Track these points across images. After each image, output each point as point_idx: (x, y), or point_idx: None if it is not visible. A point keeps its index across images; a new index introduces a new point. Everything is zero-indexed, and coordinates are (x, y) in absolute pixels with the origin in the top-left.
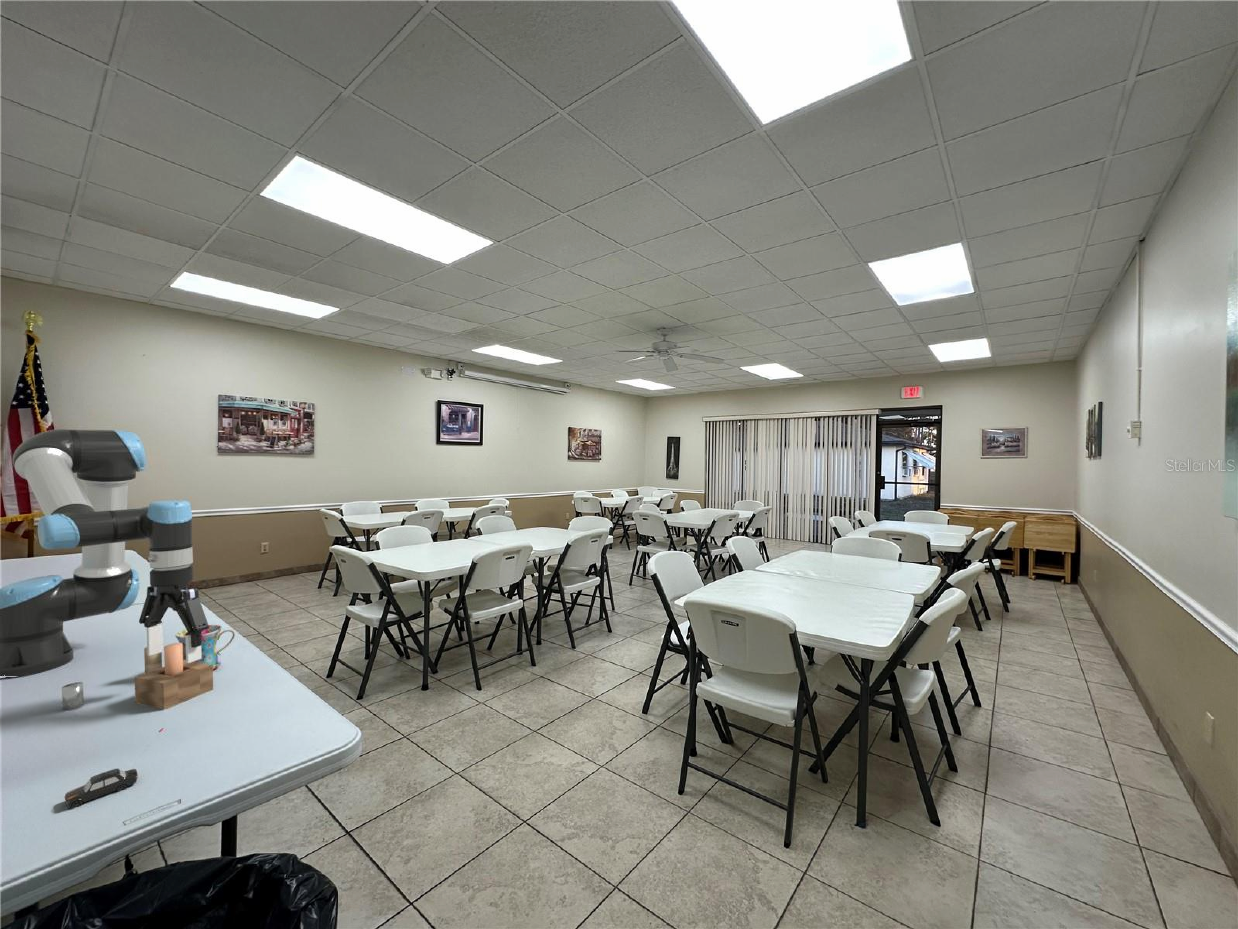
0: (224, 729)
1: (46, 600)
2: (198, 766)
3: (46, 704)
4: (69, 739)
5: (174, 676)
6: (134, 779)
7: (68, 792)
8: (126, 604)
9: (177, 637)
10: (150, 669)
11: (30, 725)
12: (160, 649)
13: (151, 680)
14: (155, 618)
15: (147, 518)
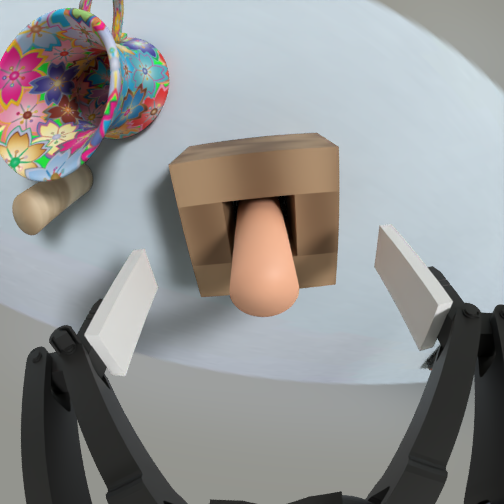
0: (483, 237)
1: None
2: (498, 291)
3: (79, 312)
4: (277, 344)
5: (316, 252)
6: None
7: (431, 369)
8: None
9: (52, 180)
10: (74, 199)
11: (157, 346)
12: (143, 263)
13: None
14: (115, 405)
15: None
